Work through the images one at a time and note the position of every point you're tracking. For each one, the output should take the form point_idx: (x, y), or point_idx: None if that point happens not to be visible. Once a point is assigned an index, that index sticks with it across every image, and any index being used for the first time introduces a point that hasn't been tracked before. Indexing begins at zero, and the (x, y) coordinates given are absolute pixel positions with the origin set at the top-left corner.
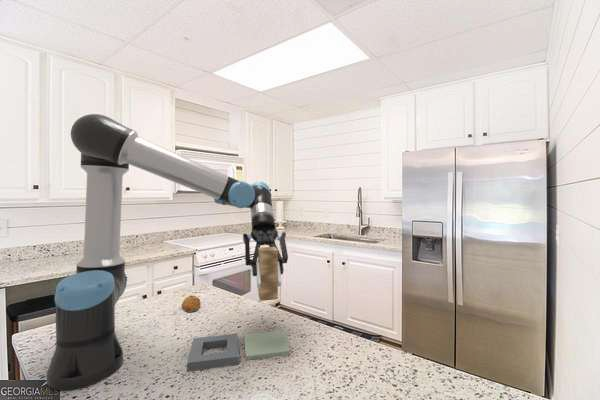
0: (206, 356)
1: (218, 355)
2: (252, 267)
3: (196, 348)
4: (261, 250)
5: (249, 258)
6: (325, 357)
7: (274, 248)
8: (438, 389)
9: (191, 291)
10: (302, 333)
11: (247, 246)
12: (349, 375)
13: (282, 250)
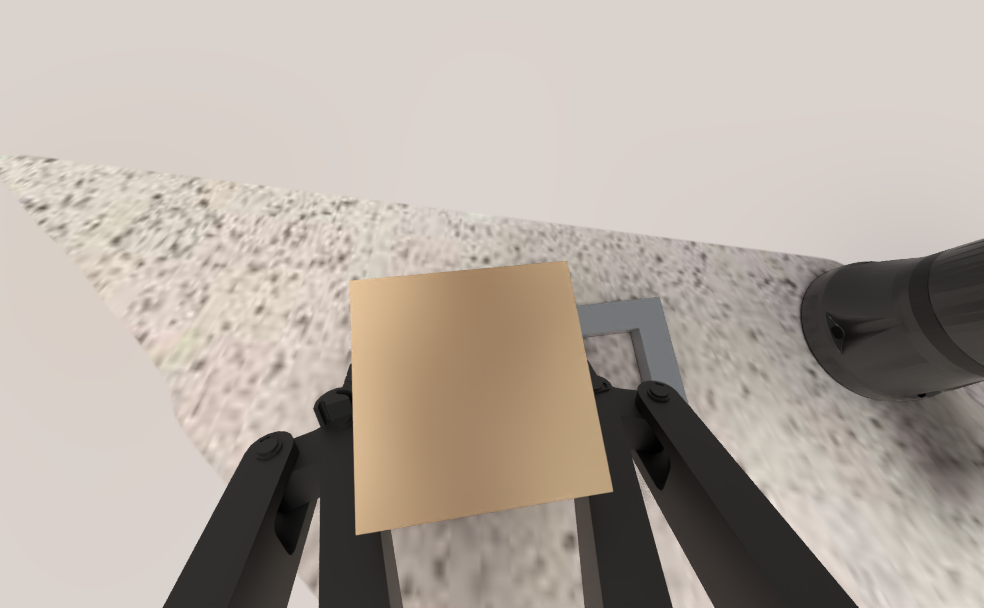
0: (623, 318)
1: (594, 320)
2: (588, 362)
3: (661, 360)
4: (548, 282)
5: (648, 400)
6: (317, 317)
7: (378, 390)
8: (119, 180)
9: None
10: None
11: (784, 560)
12: (286, 243)
13: (256, 581)
